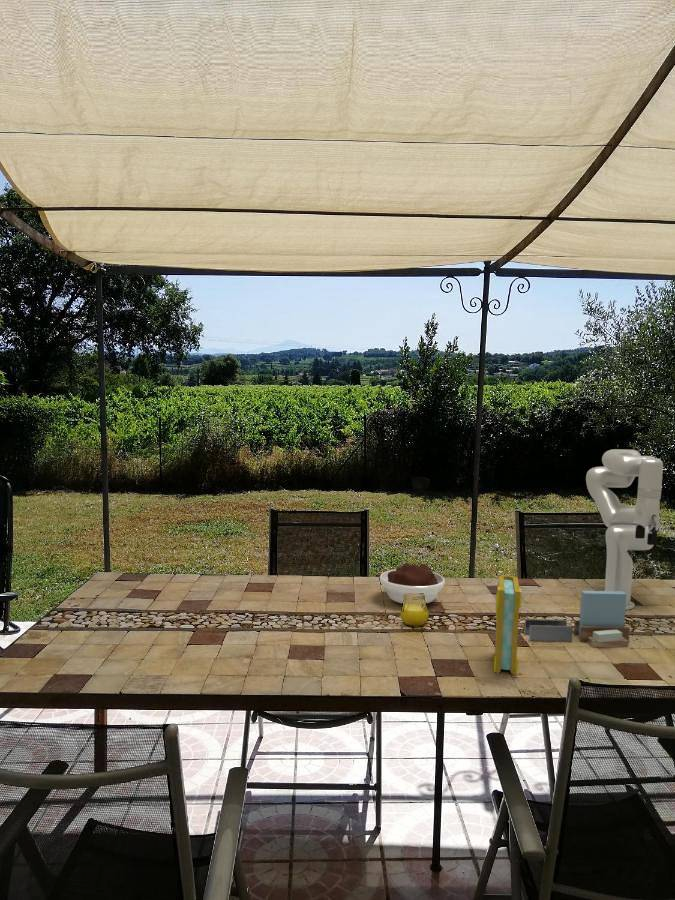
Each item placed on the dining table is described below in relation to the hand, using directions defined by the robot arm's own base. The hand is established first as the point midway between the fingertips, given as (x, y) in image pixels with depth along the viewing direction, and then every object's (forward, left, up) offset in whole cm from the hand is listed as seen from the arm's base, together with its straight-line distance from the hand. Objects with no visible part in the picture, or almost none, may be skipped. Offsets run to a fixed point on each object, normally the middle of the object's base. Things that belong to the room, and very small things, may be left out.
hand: (645, 541), depth 253 cm
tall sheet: (+15, -20, -30) cm, 39 cm away
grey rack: (+15, -38, -30) cm, 51 cm away
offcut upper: (+21, -20, -28) cm, 41 cm away
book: (+37, -58, -31) cm, 75 cm away
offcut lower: (+21, -20, -31) cm, 42 cm away
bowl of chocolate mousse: (-21, -80, -31) cm, 88 cm away
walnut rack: (+15, -20, -30) cm, 39 cm away
